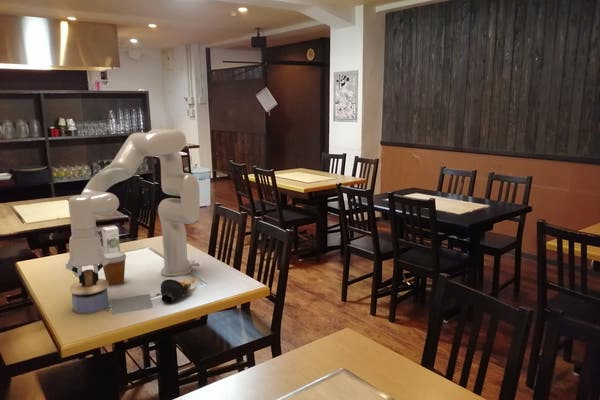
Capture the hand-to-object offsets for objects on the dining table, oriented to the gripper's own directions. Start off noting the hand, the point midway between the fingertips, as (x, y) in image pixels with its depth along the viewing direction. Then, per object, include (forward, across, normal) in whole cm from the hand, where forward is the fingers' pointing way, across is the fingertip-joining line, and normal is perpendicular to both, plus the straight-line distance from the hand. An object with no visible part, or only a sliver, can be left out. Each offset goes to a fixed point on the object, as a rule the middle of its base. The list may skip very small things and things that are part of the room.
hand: (89, 283), depth 155 cm
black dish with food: (+9, -30, +2) cm, 31 cm away
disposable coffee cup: (+9, -8, -21) cm, 24 cm away
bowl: (+9, 0, 0) cm, 9 cm away
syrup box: (+9, -7, -57) cm, 58 cm away
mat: (+9, -13, +3) cm, 16 cm away
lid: (+1, 0, 0) cm, 1 cm away
